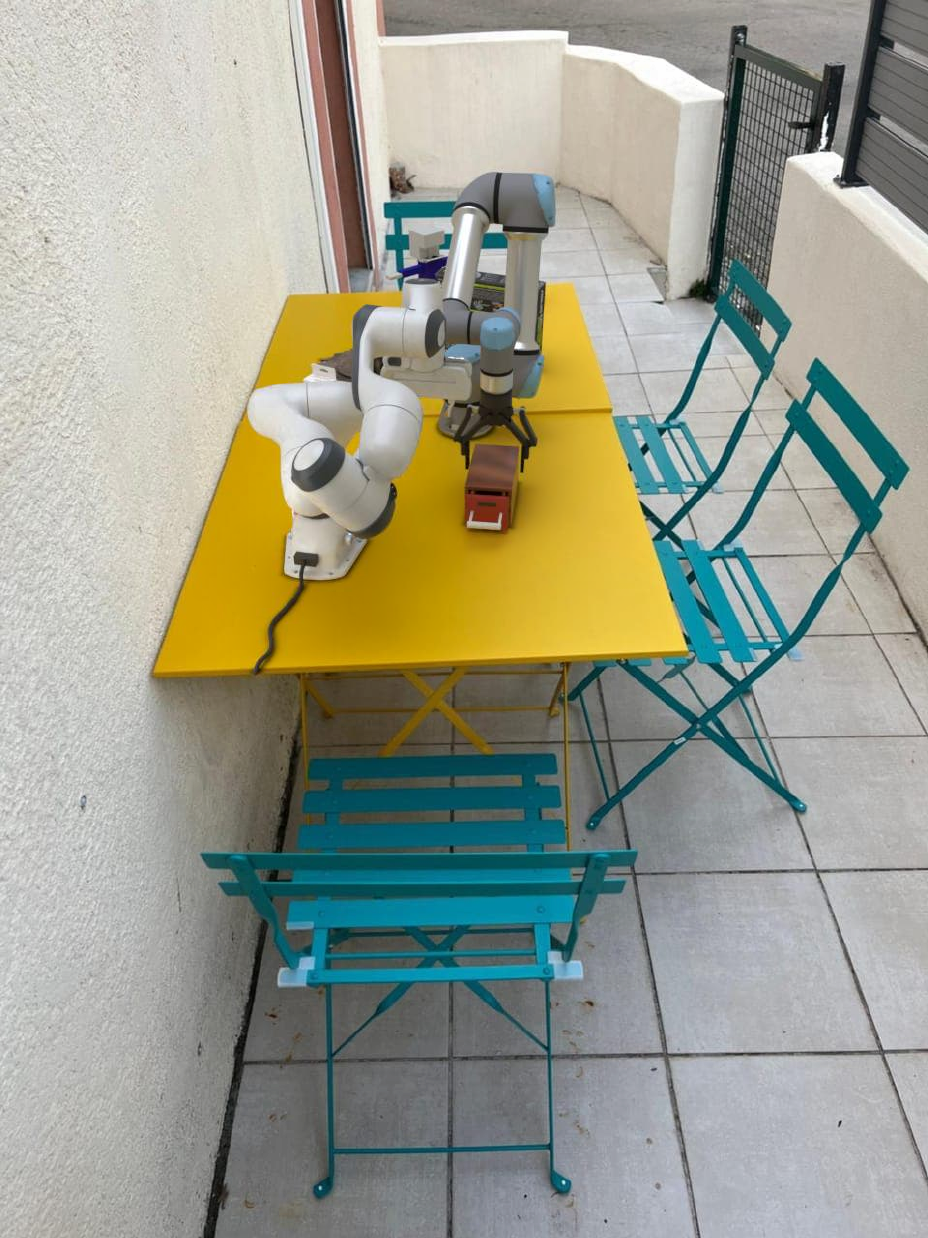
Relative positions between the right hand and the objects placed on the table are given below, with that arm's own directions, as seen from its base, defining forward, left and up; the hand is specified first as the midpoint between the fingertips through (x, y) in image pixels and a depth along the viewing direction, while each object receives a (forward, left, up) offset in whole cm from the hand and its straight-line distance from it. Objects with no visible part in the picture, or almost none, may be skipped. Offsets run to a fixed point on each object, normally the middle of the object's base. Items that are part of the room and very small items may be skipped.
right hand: (494, 468), depth 218 cm
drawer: (+11, -3, -6) cm, 13 cm away
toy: (-113, -1, -7) cm, 113 cm away
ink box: (-47, -40, -7) cm, 63 cm away
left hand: (+7, -17, +20) cm, 27 cm away
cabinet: (+5, -1, -7) cm, 9 cm away
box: (-76, +13, -7) cm, 77 cm away
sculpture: (-78, -25, -7) cm, 82 cm away
